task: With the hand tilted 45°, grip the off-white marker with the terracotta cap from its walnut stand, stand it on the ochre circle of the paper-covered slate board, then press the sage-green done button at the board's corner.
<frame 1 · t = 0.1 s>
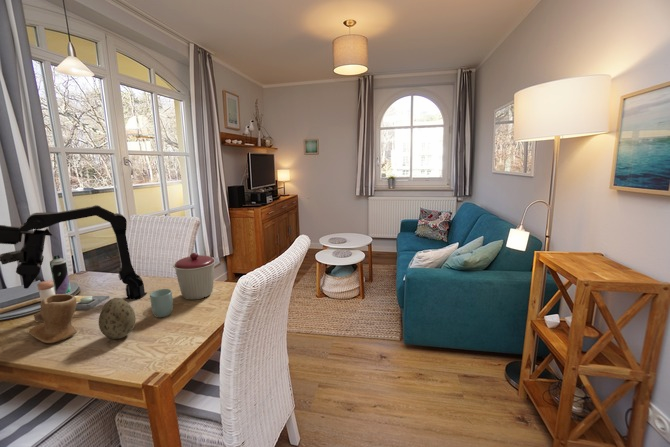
hand: (27, 284, 118), 15 cm above the table, tool pointing down, fingers open, 9 cm apart
cup: (163, 315, 127), on the table
canister: (197, 295, 145), on the table
marker stand: (52, 317, 124), on the table
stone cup: (58, 335, 112), on the table
spray can: (64, 296, 143), on the table
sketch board: (81, 303, 136), on the table
done button: (86, 300, 133), point 3 cm above the table, slide at 0.0 cm
marker: (50, 310, 123), point 3 cm above the table, touching marker stand
decorative egg: (120, 337, 111), on the table
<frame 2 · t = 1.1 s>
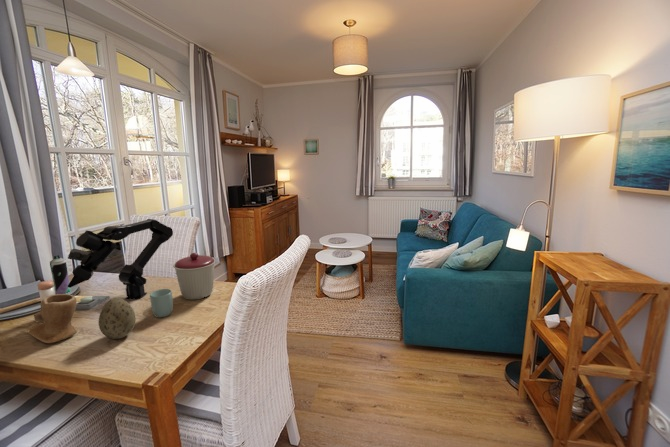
hand: (71, 282, 125), 13 cm above the table, tool tilted 45°, fingers open, 9 cm apart
nothing on the table moved.
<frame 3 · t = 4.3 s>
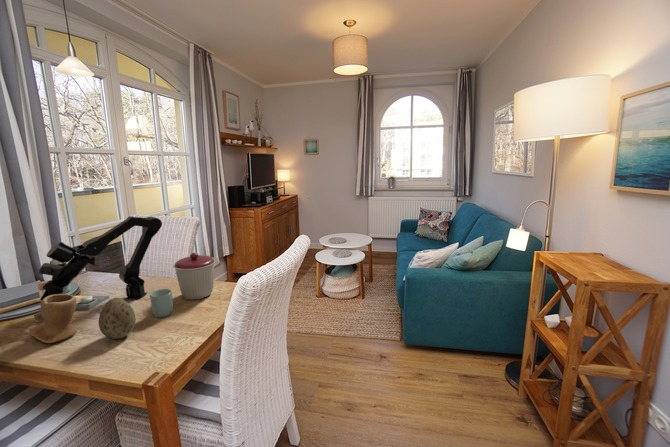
hand: (43, 298, 122), 9 cm above the table, tool tilted 45°, fingers closed on marker, 4 cm apart
marker: (50, 310, 123), point 3 cm above the table, touching gripper, marker stand
everything else where it was.
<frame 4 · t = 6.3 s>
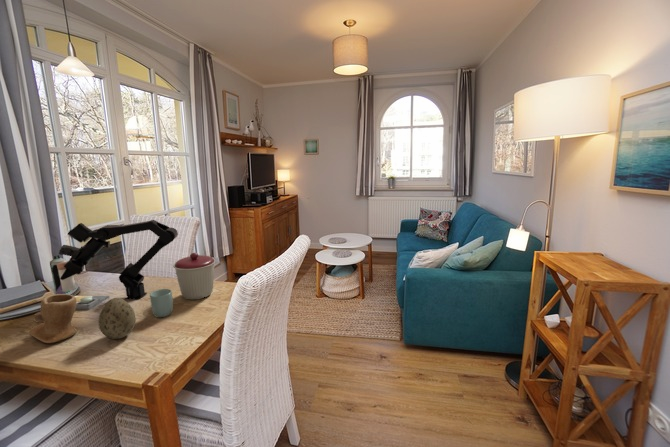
hand: (62, 277, 131), 13 cm above the table, tool tilted 45°, fingers closed on marker, 4 cm apart
marker: (69, 289, 132), point 8 cm above the table, touching gripper
everything else where it was.
when the fingers open (8 cm above the table, at t = 8.2 s): marker drops 1 cm, resting on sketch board.
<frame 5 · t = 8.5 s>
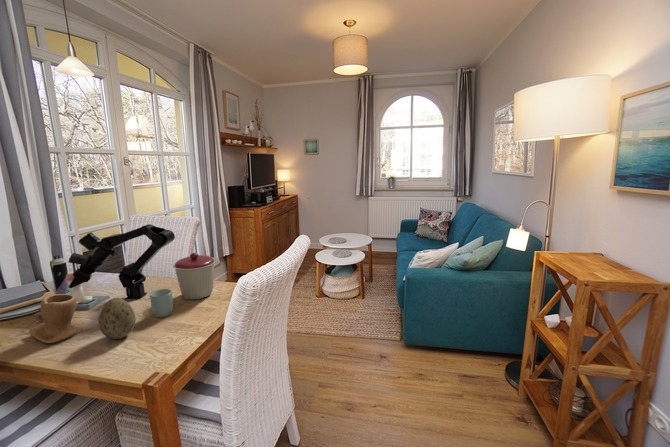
hand: (71, 284, 136), 8 cm above the table, tool tilted 45°, fingers open, 7 cm apart
marker: (78, 298, 138), point 1 cm above the table, touching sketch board
everything else where it was.
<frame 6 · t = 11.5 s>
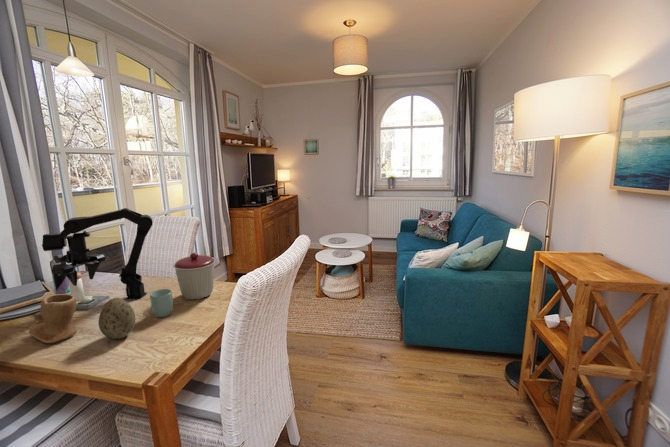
hand: (83, 282, 132), 11 cm above the table, tool pointing down, fingers open, 7 cm apart
nothing on the table moved.
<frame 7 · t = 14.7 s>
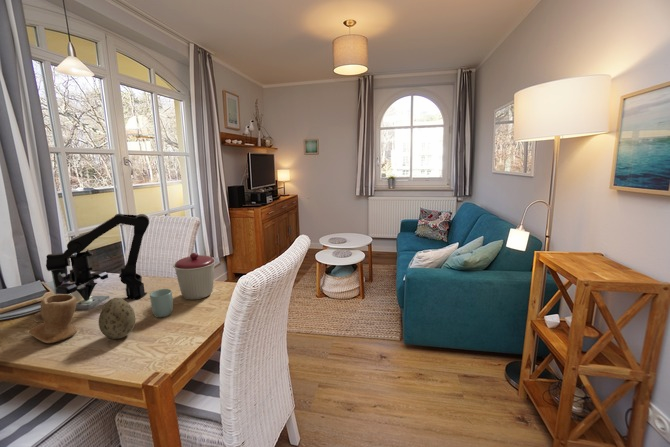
hand: (86, 300, 133), 3 cm above the table, tool pointing down, fingers closed, pressing on done button
done button: (86, 302, 133), point 2 cm above the table, slide at 1.0 cm, touching gripper
everything else where it was.
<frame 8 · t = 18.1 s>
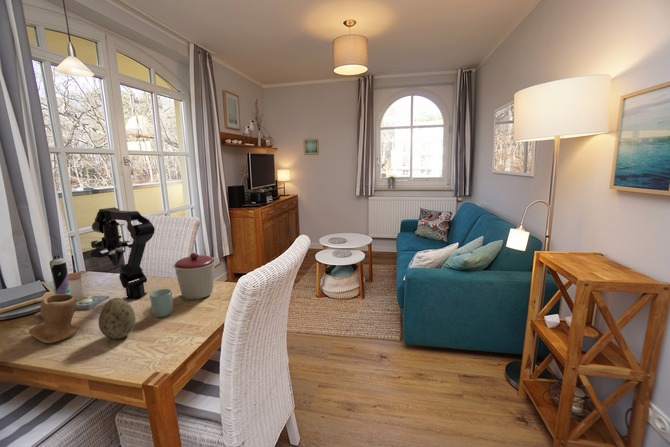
hand: (116, 265, 146), 13 cm above the table, tool pointing down, fingers closed
done button: (86, 302, 133), point 2 cm above the table, slide at 1.0 cm
everything else where it was.
at the end: marker 0.0 cm from the target spot on the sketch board, point 1.0 cm above the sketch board's base; marker tilted 0°; done button slide at 1.0 cm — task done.
